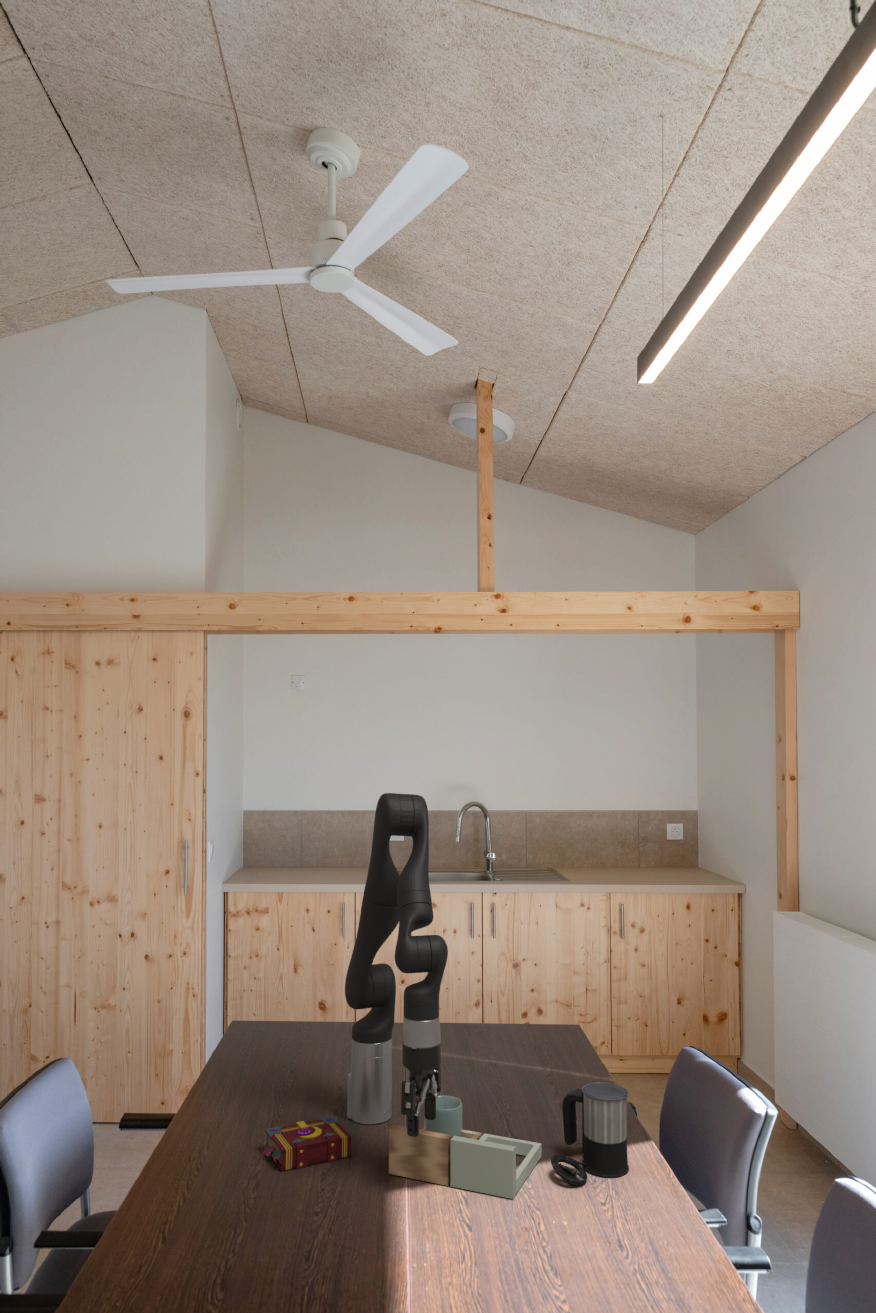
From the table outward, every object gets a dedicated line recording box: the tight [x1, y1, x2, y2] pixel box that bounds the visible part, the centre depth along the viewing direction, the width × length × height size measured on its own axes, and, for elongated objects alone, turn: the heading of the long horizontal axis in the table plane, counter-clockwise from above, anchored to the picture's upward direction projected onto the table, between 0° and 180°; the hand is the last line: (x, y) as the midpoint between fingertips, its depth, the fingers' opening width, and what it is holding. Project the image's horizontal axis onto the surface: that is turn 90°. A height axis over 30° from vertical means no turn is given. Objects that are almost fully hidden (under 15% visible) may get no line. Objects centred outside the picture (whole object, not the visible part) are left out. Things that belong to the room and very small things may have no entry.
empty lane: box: [449, 1133, 543, 1200], centre depth 176 cm, size 12×19×8 cm, turn 157°
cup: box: [424, 1094, 463, 1138], centre depth 184 cm, size 8×8×10 cm
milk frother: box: [550, 1081, 630, 1186], centre depth 176 cm, size 14×16×15 cm
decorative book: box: [262, 1115, 352, 1172], centre depth 183 cm, size 11×16×5 cm
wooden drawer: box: [388, 1124, 483, 1186], centre depth 181 cm, size 12×19×8 cm, turn 157°
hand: (421, 1127), depth 173 cm, fingers open, 8 cm apart
